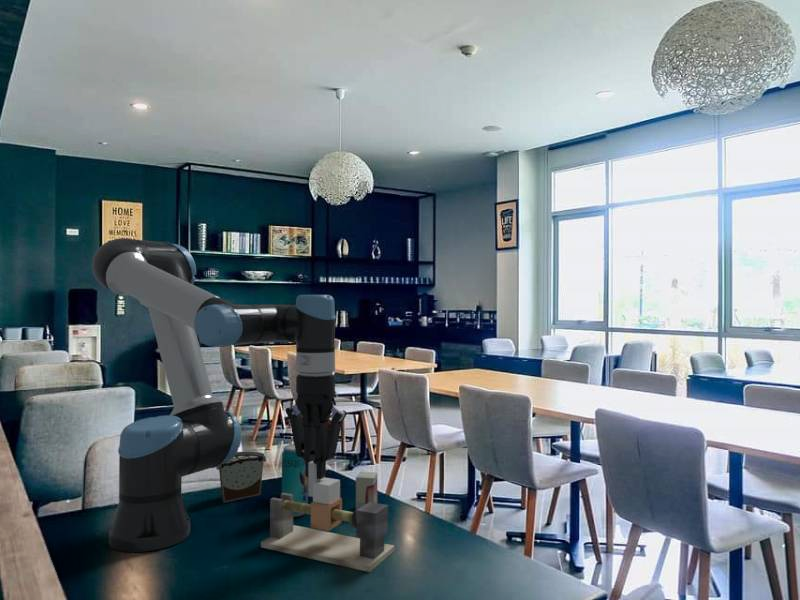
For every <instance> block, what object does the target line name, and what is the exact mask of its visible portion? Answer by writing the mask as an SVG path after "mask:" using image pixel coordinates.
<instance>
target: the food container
mask: <svg viewBox="0 0 800 600" xmlns="http://www.w3.org/2000/svg"><path fill="white" fill-rule="evenodd" d="M264 462H265V463H266V462H267V460H266V455H265V453H264V452H259V451H237V453H236V455H235V456H234V457H233V458H232V459H231V460H230V461H228V462H226V463H223V464H221V465H219V466H217V467H215V468H216V470H217V471H218V472H219V481H220V483H219V484H220V491H221V492H220V494H221V501H222V503H224V504H225V503H229V502H233V501H238V500H242V499H243V500H244V499H248V498H252V497H257V496H261V489H262V480H263V479H262V478H263V472H264V471H263V469H264Z"/></svg>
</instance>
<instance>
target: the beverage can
mask: <svg viewBox="0 0 800 600" xmlns="http://www.w3.org/2000/svg"><path fill="white" fill-rule="evenodd" d="M305 472H306V471H305V460H304V459H303V458H302V457H297V455H296V450H295V445H294V444H287V445H284V446H283V450H282V453H281V494H282V493H289V494H293V501H294V502H299V503H305V504H309V502H308V497H309V496H308V477H306V475H305ZM304 515H305V513H300V512H295V511H293V518H297V517H302V516H304Z"/></svg>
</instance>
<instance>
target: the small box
mask: <svg viewBox="0 0 800 600" xmlns="http://www.w3.org/2000/svg"><path fill="white" fill-rule="evenodd" d="M369 502H373V503H378V472H373V471H360V472H359V473H358V474H357V476H355V509H359V508H361V507H362V506H364V505H365V504H367V503H369Z"/></svg>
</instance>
